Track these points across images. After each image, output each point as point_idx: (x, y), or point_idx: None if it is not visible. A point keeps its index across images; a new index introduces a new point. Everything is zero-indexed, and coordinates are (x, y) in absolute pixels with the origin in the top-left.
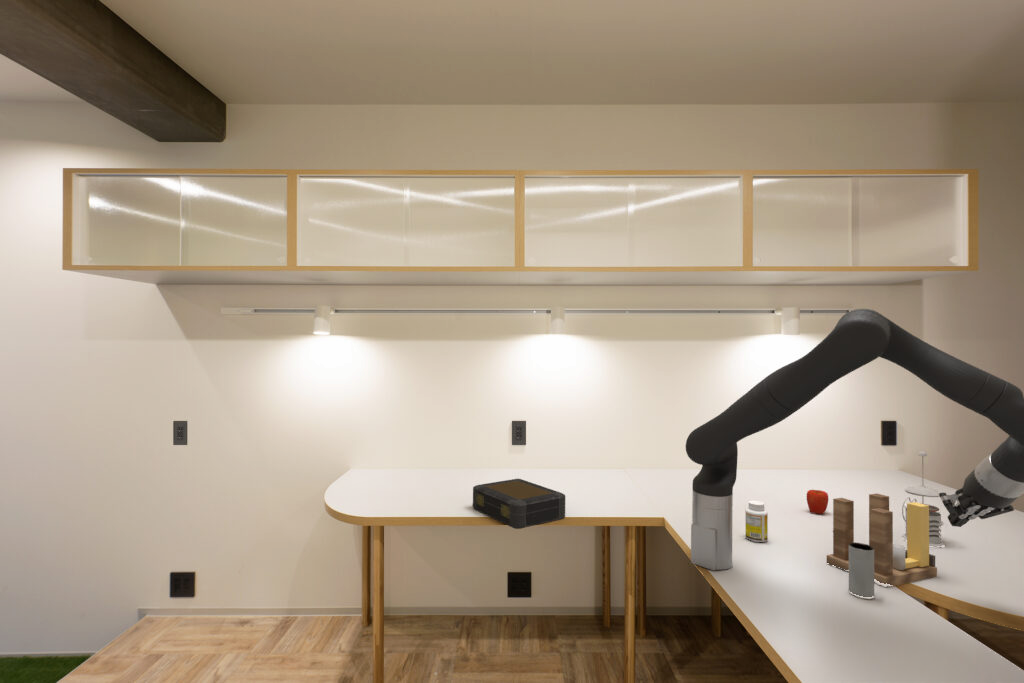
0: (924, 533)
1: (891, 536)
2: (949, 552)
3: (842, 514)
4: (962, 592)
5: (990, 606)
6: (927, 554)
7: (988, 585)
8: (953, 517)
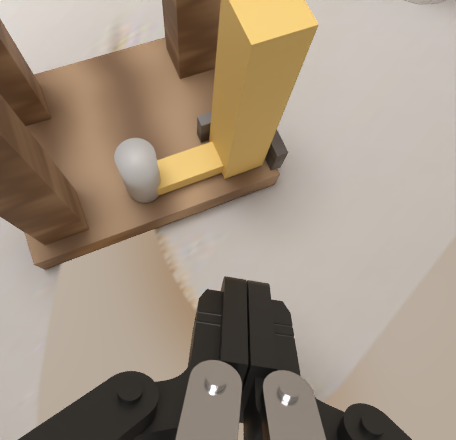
0: (256, 118)
1: (38, 185)
2: (434, 31)
3: None
4: None
5: None
6: (260, 152)
7: (379, 238)
8: (189, 362)
